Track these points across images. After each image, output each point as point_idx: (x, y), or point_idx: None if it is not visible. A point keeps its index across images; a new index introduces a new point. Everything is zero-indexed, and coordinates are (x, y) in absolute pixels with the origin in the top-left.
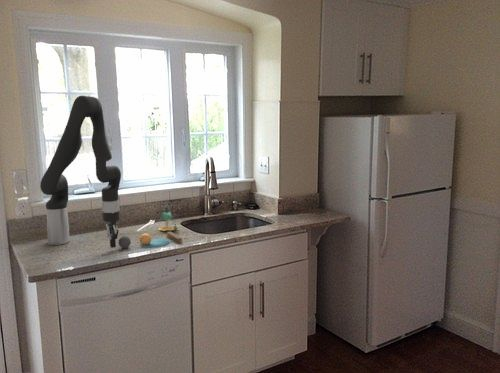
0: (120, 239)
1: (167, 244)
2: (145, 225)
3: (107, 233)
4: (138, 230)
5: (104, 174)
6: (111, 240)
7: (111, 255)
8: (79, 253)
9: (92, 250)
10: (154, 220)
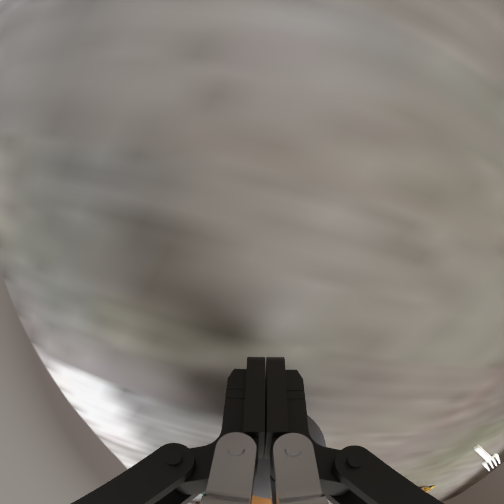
0: (263, 466)
1: (202, 493)
2: (485, 459)
3: (393, 473)
4: (474, 449)
5: None
6: (242, 430)
7: (107, 290)
8: (374, 10)
9: (403, 170)
10: (487, 469)
